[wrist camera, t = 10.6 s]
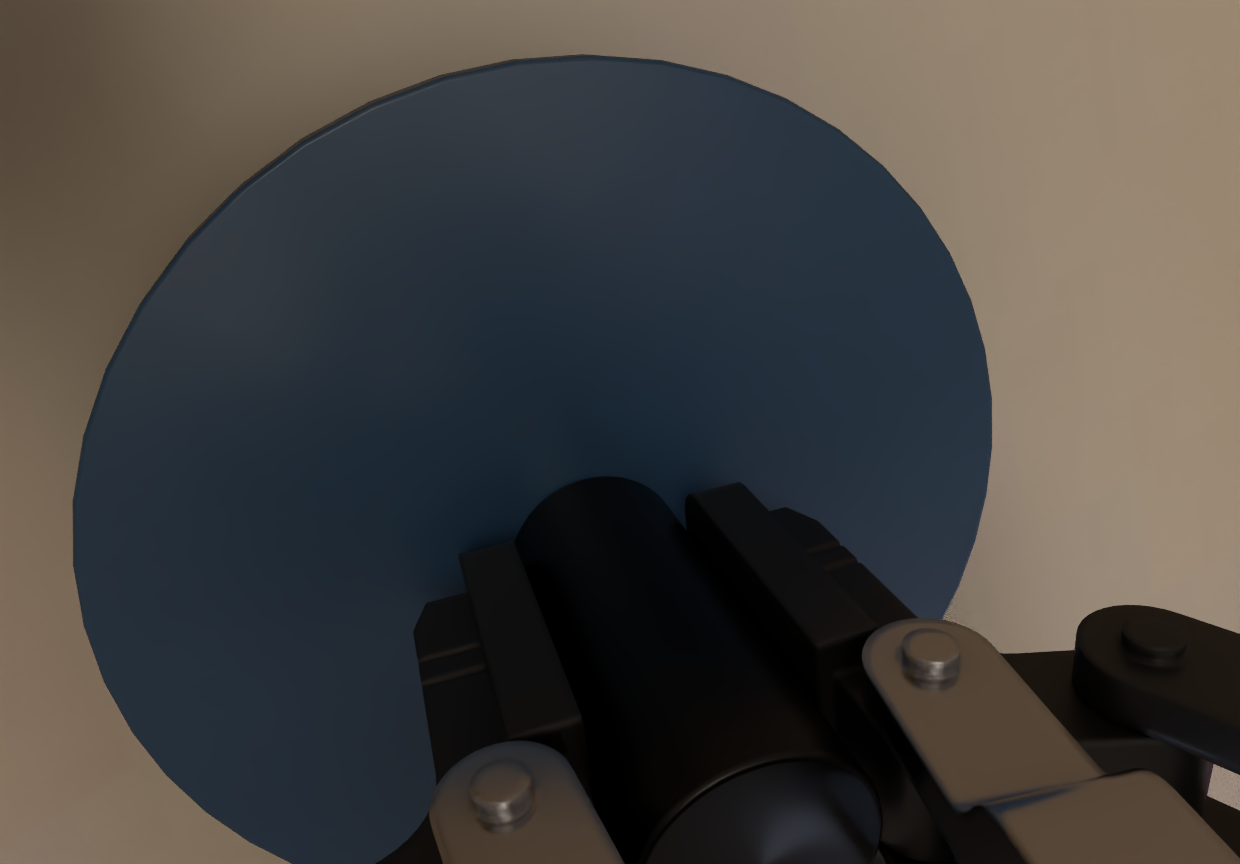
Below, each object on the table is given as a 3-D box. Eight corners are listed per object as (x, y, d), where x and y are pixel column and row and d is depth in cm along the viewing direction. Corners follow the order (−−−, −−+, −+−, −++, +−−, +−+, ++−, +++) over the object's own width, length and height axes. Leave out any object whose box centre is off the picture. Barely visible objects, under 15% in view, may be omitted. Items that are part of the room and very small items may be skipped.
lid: (256, 947, 15) (216, 1515, 9) (-94, 144, 10) (-711, 304, 4) (940, 718, 18) (1239, 1048, 12) (965, -9, 12) (1533, -50, 7)
